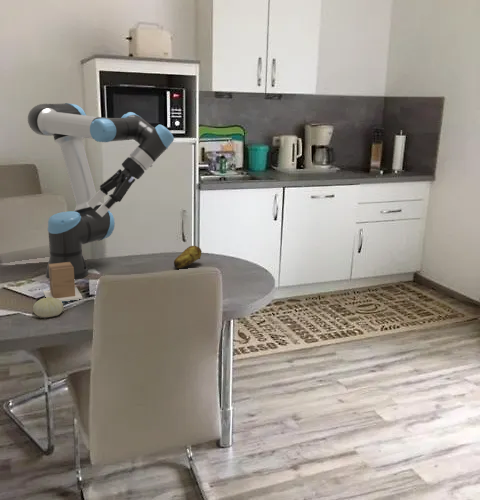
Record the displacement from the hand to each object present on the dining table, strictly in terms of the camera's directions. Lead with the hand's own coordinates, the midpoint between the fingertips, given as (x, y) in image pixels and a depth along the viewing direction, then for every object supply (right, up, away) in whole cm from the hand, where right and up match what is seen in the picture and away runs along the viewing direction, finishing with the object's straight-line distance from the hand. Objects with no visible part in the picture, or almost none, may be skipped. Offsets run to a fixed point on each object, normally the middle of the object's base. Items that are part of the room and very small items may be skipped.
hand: (94, 210), depth 189 cm
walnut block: (-11, -28, +2) cm, 30 cm away
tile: (-11, -29, +3) cm, 32 cm away
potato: (+27, -20, +40) cm, 52 cm away
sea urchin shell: (-12, -34, -11) cm, 37 cm away
